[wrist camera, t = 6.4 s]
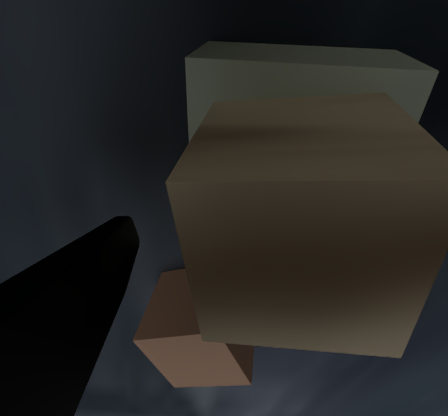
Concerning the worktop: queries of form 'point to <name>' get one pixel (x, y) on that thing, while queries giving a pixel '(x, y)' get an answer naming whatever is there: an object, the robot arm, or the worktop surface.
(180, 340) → the terracotta cube
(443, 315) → the worktop surface
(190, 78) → the sage block
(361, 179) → the maple cube
